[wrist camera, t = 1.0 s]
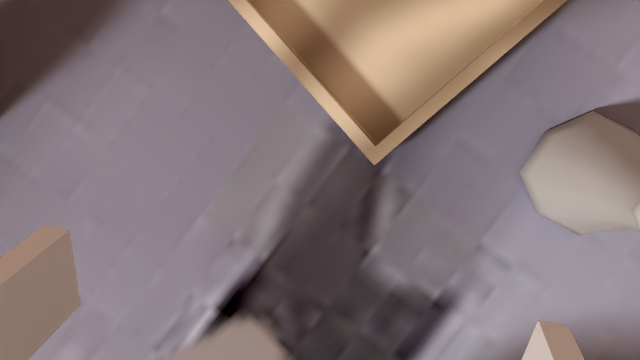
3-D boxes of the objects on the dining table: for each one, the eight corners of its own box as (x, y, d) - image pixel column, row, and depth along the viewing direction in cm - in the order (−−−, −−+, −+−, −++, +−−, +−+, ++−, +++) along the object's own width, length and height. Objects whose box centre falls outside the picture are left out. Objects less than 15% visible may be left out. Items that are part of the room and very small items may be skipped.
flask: (593, 88, 27) (701, 85, 18) (676, 176, 27) (830, 221, 18) (496, 171, 29) (546, 209, 19) (575, 253, 29) (664, 332, 19)
